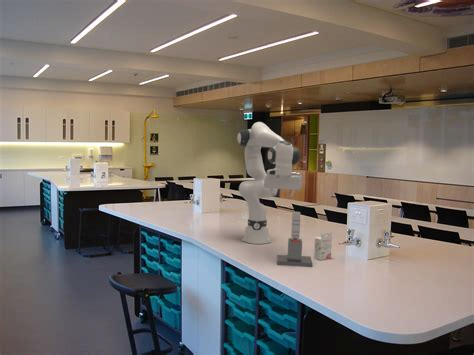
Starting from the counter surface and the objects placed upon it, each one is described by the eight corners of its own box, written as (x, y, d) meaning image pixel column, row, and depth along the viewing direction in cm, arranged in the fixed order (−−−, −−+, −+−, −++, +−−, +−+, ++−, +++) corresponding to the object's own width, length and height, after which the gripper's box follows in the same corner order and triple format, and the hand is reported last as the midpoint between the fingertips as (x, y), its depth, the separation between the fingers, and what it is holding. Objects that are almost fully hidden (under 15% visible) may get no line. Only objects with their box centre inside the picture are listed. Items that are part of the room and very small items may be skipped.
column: (290, 244, 227) (292, 211, 226) (298, 245, 227) (300, 211, 225) (290, 246, 223) (292, 212, 221) (299, 247, 223) (300, 213, 221)
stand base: (277, 258, 233) (278, 234, 232) (310, 260, 231) (311, 236, 230) (277, 264, 220) (278, 240, 219) (312, 266, 218) (313, 242, 217)
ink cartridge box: (324, 256, 240) (326, 230, 239) (331, 258, 236) (332, 232, 235) (313, 258, 236) (314, 231, 235) (319, 260, 232) (321, 233, 230)
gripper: (302, 172, 230) (300, 197, 232) (264, 170, 232) (263, 195, 233) (303, 173, 224) (301, 199, 225) (264, 171, 225) (263, 197, 227)
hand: (281, 197), depth 229 cm, fingers open, 8 cm apart
